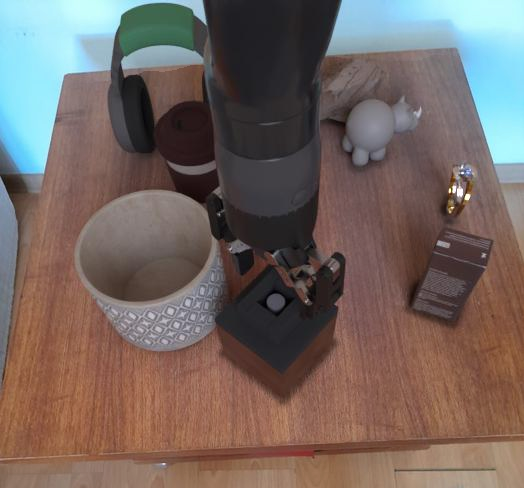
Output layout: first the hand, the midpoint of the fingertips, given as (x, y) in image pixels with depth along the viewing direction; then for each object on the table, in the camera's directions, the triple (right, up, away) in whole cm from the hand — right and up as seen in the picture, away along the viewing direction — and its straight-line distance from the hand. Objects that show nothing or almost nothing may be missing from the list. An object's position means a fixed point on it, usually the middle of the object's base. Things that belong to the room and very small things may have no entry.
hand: (276, 290), depth 50 cm
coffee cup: (-10, +16, +24) cm, 30 cm away
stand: (+1, -6, +13) cm, 14 cm away
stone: (+11, +33, +30) cm, 46 cm away
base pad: (0, -2, +5) cm, 6 cm away
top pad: (0, -2, +4) cm, 5 cm away
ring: (+26, +14, +21) cm, 36 cm away
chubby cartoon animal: (+17, +26, +27) cm, 41 cm away
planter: (-14, 0, +17) cm, 22 cm away
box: (+22, 0, +14) cm, 26 cm away
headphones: (-14, +28, +30) cm, 43 cm away
